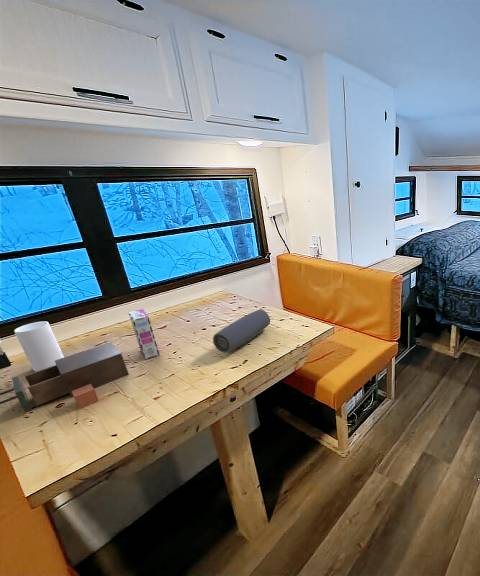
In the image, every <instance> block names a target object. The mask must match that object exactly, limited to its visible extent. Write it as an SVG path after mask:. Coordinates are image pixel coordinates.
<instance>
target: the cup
mask: <svg viewBox="0 0 480 576" xmlns="http://www.w3.org/2000/svg"><path fill="white" fill-rule="evenodd" d="M13 332H14V334H15V337H16V338H17V340H18V342H19V344H20V346H21V348H22V350H23V353H24V354H25V356H26V358H27V360H28V362H29V364H30V366H31V368H32V370H33V371H34V372H37V371H40V370H42V369H45V368H48V367H51V366H54V365H56V363H55V360H58V359H61V358H64V357H65V356H64V353H63V352H62V349H61V347H60V345H59V343H58V340H57V339H56V336H55V333H54V332H53V330H52V328H51V325H50V323H49V321H45V320H44V321H34V322H31V323H27V324H23V325H21V326H19V327H17V328H15V329H14V330H13Z"/></svg>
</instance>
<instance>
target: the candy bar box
mask: <svg viewBox="0 0 480 576" xmlns="http://www.w3.org/2000/svg"><path fill="white" fill-rule="evenodd" d="M128 316H129V319H130V321H131V325H132V329H133V331H134V336H135V338H136V341H137V344H138V347H139V350H140V352H141V354H142V357H143V358H144V360H149V359H152V358H156V357H158V356H160V355H161V354H160V351H159V347H158V344H157V341H156V338H155V334H154V331H153V328H152V324H151V321H150V317H149V316H148V315H147V313H146V311H145V310H144V309H143V308H141V309H137V310H133V311H130V312H128Z"/></svg>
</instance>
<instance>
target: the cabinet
mask: <svg viewBox="0 0 480 576" xmlns="http://www.w3.org/2000/svg"><path fill="white" fill-rule="evenodd" d="M55 363H56V365H57V367H58V369H59V372H60V374H61V376H62V378H63V380H64V382H65V385H66V387H67V389H68V391H69V393H68V394H69V395H70V398H74V396H73V394H72V392H71V391H73V390H76V389H78V388H81V387H84V386H86V385H89V384H91V385H92V387H93V388H94V389H96V388H99V387H101V386H103V385H106V384H108V383H109V384H110V383H112V382H114V381H116V380H118V379H121V378H124V377H127V376H128V375H130V373H129V371H128V367H127V366H126V363H125V359H124V357H123V355H122V352H121V351H119V349H118V348H117V347H116V345H114V343H113V342H112V341H111V342H108V343H103V344H101V345H98V346H94V347H91V348H89V349H86V350H82V351H79V352H77V353H73V354H71V355H66V356H64V358H61V359H58V360H55Z"/></svg>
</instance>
